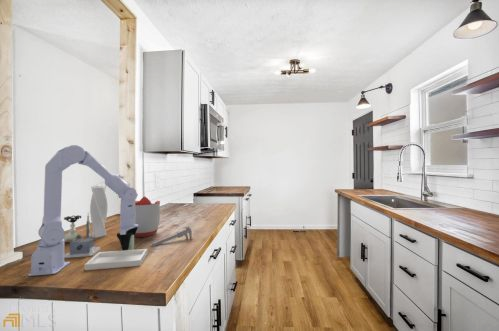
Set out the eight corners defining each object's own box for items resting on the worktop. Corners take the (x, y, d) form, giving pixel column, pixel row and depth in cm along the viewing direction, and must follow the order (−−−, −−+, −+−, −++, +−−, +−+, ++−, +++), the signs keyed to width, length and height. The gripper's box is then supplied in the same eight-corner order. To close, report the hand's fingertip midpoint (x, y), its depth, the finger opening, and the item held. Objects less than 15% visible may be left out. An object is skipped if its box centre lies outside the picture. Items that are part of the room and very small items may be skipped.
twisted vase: (102, 233, 128) (102, 181, 128) (111, 235, 124) (111, 182, 125) (85, 237, 121) (85, 182, 121) (94, 239, 117) (94, 183, 117)
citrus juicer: (168, 230, 133) (168, 194, 133) (147, 239, 116) (147, 198, 116) (144, 228, 137) (144, 193, 137) (120, 237, 120) (120, 197, 120)
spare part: (131, 251, 100) (131, 237, 100) (121, 252, 99) (121, 238, 99) (134, 248, 104) (134, 234, 104) (124, 249, 103) (124, 235, 103)
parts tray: (140, 265, 86) (140, 260, 86) (84, 270, 82) (84, 264, 82) (147, 253, 98) (147, 248, 98) (98, 257, 94) (98, 252, 94)
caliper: (190, 238, 120) (190, 225, 120) (191, 238, 119) (191, 225, 119) (148, 246, 107) (148, 232, 107) (149, 247, 106) (149, 233, 106)
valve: (72, 244, 109) (72, 218, 109) (60, 243, 111) (60, 217, 111) (84, 240, 116) (84, 215, 116) (73, 239, 117) (73, 215, 117)
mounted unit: (92, 255, 95) (92, 242, 95) (64, 258, 93) (64, 244, 93) (100, 249, 103) (100, 236, 103) (74, 250, 101) (74, 237, 101)
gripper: (133, 218, 95) (133, 252, 95) (141, 211, 110) (141, 241, 110) (114, 219, 94) (114, 253, 94) (125, 212, 108) (125, 242, 108)
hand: (127, 246), depth 102 cm, fingers open, 7 cm apart
